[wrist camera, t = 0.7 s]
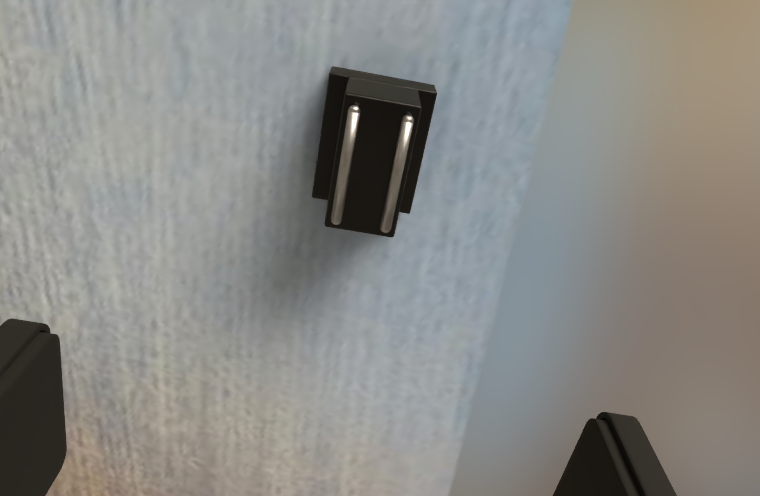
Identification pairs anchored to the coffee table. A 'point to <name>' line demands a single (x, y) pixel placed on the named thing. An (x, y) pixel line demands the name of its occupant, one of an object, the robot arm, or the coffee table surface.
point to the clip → (371, 149)
